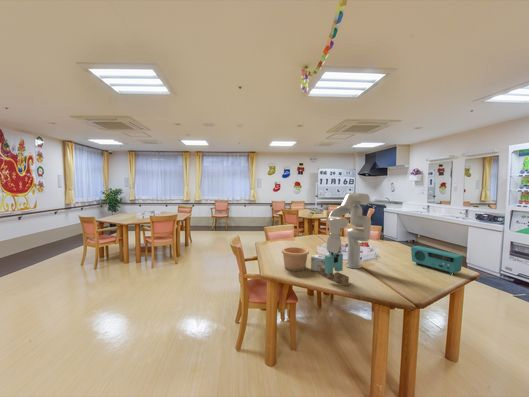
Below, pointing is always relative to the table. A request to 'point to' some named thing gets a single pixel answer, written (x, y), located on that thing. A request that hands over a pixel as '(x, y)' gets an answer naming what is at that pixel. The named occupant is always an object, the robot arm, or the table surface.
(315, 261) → the light bulb box
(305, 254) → the pottery
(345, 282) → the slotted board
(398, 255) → the table surface
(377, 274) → the table surface
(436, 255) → the radio
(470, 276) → the table surface
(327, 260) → the teal panel
